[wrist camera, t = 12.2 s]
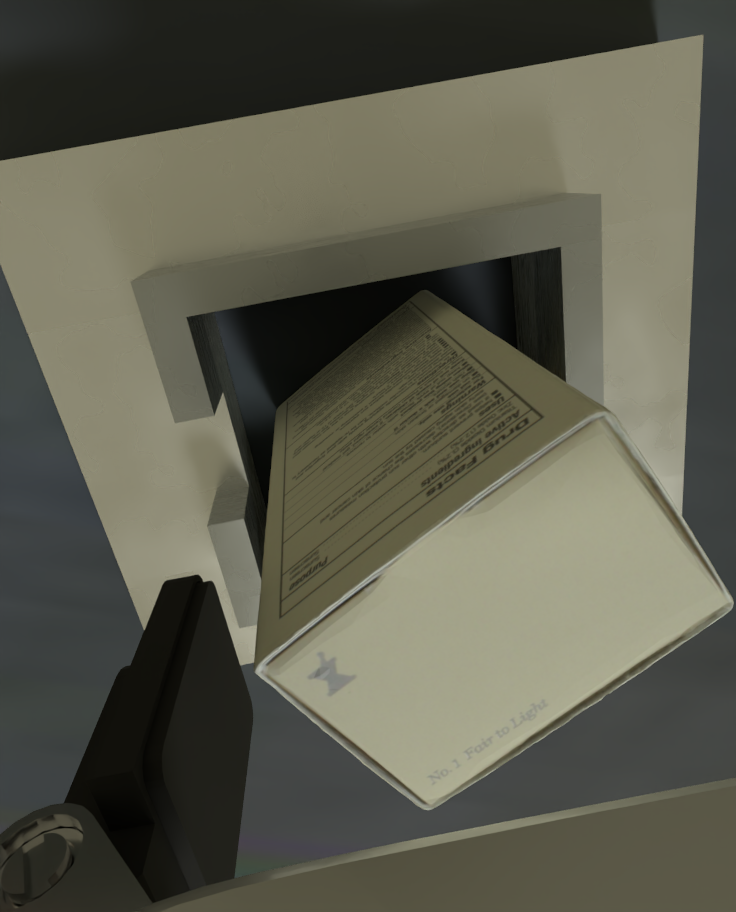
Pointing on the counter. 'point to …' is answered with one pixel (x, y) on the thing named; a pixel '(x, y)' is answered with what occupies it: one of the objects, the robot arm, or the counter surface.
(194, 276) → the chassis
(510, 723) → the skincare box
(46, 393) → the counter surface
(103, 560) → the counter surface
